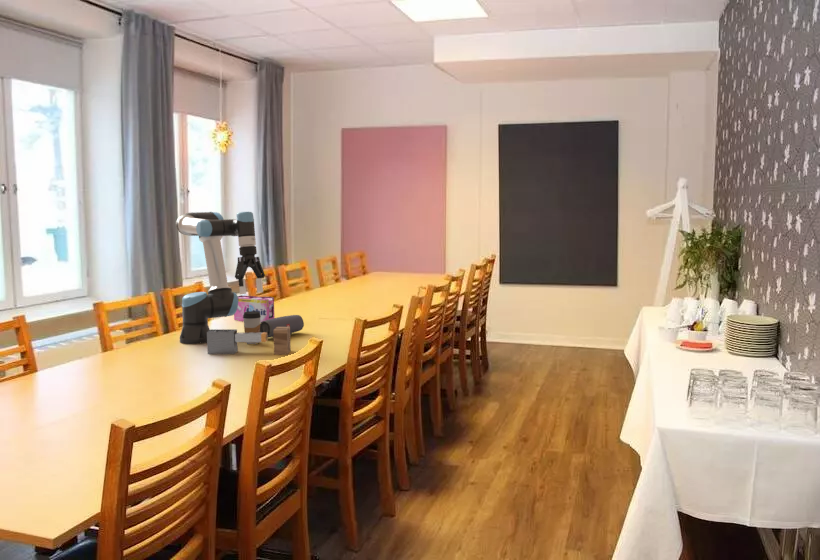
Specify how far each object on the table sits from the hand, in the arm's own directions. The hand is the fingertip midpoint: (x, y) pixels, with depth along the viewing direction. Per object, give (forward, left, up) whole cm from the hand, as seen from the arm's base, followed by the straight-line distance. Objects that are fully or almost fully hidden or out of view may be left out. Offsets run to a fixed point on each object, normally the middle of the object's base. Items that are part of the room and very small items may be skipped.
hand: (251, 293), depth 326 cm
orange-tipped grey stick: (+3, -6, -21) cm, 22 cm away
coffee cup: (-18, -4, -27) cm, 32 cm away
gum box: (-79, -17, -27) cm, 86 cm away
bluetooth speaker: (-35, +7, -27) cm, 44 cm away
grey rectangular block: (+2, -13, -27) cm, 30 cm away
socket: (+2, +14, -27) cm, 30 cm away
